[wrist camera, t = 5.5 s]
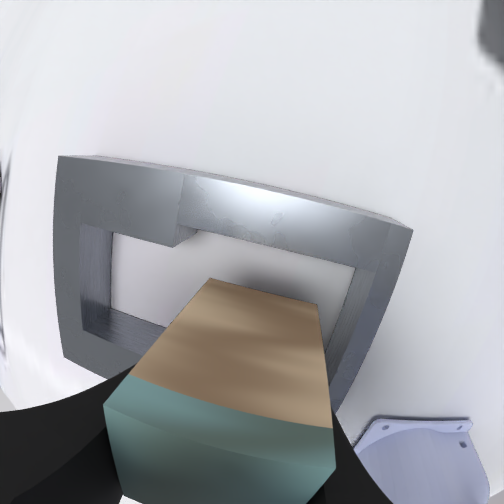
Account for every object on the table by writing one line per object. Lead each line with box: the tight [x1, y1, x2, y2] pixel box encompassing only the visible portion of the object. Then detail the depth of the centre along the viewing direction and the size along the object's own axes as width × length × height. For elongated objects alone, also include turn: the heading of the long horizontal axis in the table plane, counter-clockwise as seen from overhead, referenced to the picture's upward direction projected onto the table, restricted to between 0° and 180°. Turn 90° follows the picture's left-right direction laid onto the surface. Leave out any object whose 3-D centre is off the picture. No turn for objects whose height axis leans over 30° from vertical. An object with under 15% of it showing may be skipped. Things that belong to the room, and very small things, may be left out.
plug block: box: [103, 278, 336, 504], centre depth 8 cm, size 4×4×7 cm
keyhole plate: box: [53, 156, 413, 414], centre depth 14 cm, size 16×12×3 cm
